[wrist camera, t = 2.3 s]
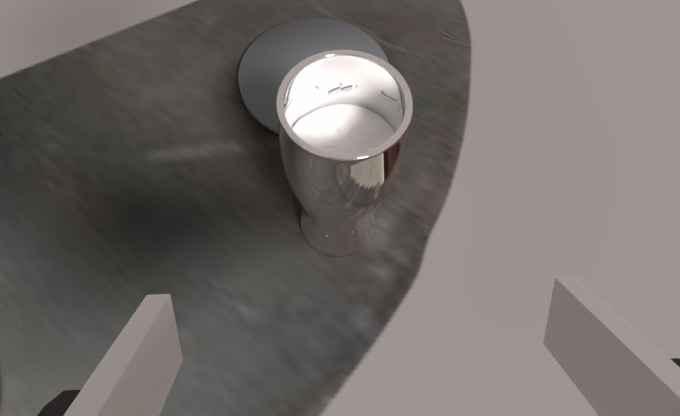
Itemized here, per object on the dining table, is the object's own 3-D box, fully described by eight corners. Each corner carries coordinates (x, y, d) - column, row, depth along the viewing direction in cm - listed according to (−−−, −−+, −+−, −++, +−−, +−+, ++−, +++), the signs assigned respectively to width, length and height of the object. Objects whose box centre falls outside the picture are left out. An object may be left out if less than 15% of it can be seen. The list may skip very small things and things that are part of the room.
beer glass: (281, 201, 34) (250, 72, 21) (357, 170, 36) (375, 29, 22) (316, 277, 32) (307, 186, 18) (397, 240, 33) (445, 130, 20)
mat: (224, 132, 37) (221, 126, 36) (256, 17, 43) (255, 10, 42) (383, 151, 37) (384, 146, 36) (394, 32, 42) (395, 26, 42)
